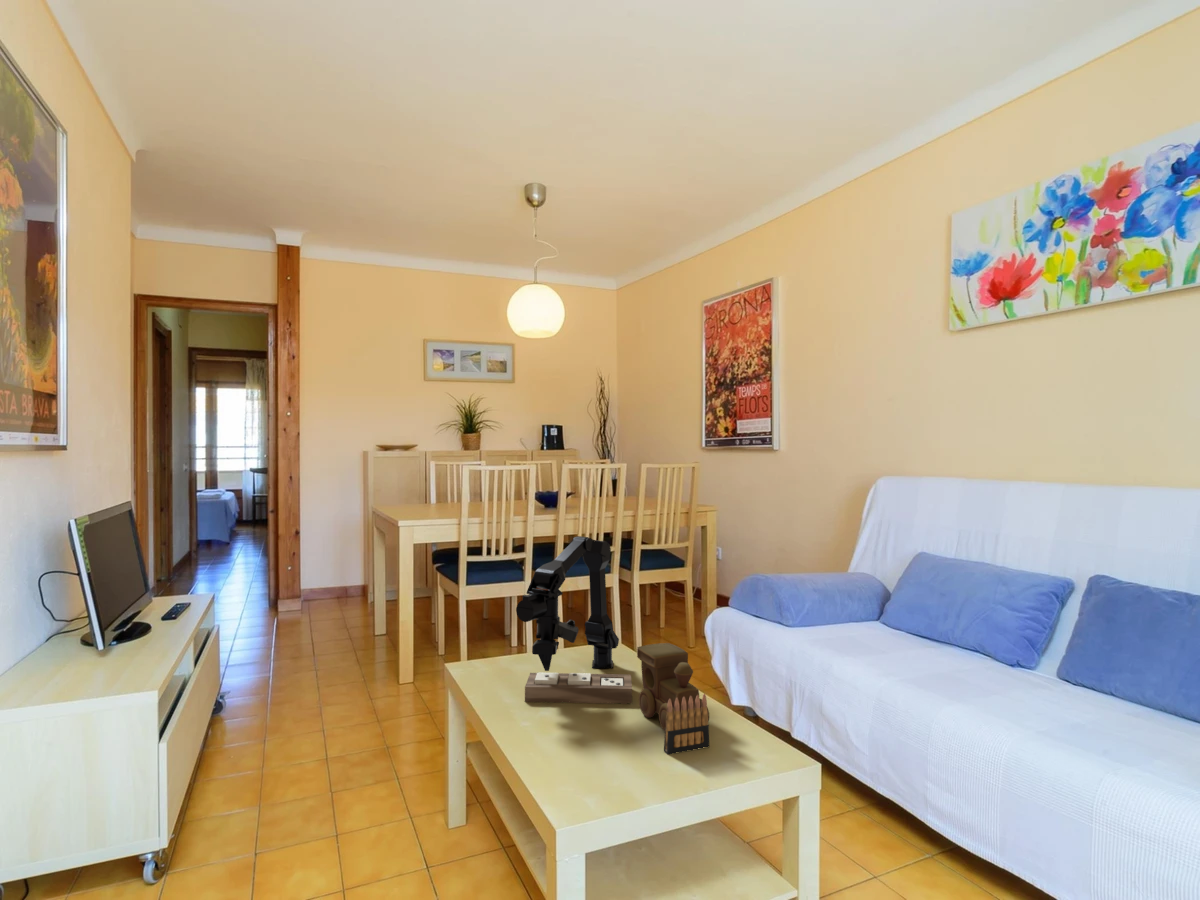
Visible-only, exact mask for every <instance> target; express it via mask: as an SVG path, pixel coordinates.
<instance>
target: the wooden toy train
mask: <svg viewBox="0 0 1200 900" xmlns="http://www.w3.org/2000/svg"><path fill="white" fill-rule="evenodd" d="M636 650H637V651H636V652H637V653H636V655H637V656H636V657H637V658H638V659H639V660H640V661H641V666H640V667H641V679H642V681H641V682H642V686H643V688H641V691H640V693H639V695H638V705H639V709H640V711H641V713H642V715H643V716H644V717H646V718H649V719H650V718H653V717H654V716H655V714H658V720H659V724H660V728H661V729H662V731H664V732H665V728H666V716H667V705H668V700H669V699H671V702H672V711H673V715H674V705H675V700H676V698H678V700H679V710H680V714H681V704H682V699H683V697H685V699H686V706H687V713H688V702H689V698H690V696H692V699H693V708H694V711H695V700H696V696H697V695H698V696H699V699H700V711H701V706H702V698H700V691H699V688H697V687H696V686H694V685H693V684H691V683H690V681H691V679H692V677H693V674H694V670H693V668H692V667H691V664H690V663H689V653H688V652H687V651H686V650H685V649H683V648H681V647H679V646H678V645H675V644H672V643H670V642H665V643H663V642H661V643H660V642H659V643H651V644H646V645H641V646H637V649H636ZM709 711H710V710H709V707H708V706H707V712H708V723H709V721H710V712H709Z"/></svg>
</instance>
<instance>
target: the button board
mask: <svg viewBox="0 0 1200 900" xmlns="http://www.w3.org/2000/svg"><path fill="white" fill-rule="evenodd" d="M558 673H559V681H558V684H535V678H536V675H537V672H529V675H528V677H527V681H526V683H525V686H524V702H525V701H526V702H525V703H561V702H567V704H568V703H569V704H573V703H574V704H576V703H577V704H614V703H621V704H622V705H628V704H627V703H632V704H633V685H632V674H625V673H624V674H623V673H622V674H621V673H618V674H617V673H613V674H612V673H591V685H568V677H569V673H570V672H568V673H563V672H562V673H561V672H558ZM601 678H623V686H615V685H601ZM621 704H620V705H621Z"/></svg>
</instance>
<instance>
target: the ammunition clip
mask: <svg viewBox="0 0 1200 900" xmlns="http://www.w3.org/2000/svg"><path fill="white" fill-rule="evenodd" d="M699 698H700V695H699V696H698V695H697V696H696V700H695V711H694V708H693V699H692V696H690V698H689V702H688V713H687V706H686V699H685V697H683V699H682V704H681V714H680V710H679V700H678V698H676V700H675V705H674V715H673V711H672V702H671V699H669V700H668V705H667V716H666V728H665V731H664V737H663V739H664V740H663V743H664V744H663V752H664V753H665V754H667V755H672V753H674V754H677V753H676V752H679V753H683V752H682V751H685V752H688V751H687V750H691V751H694V750H693V749H697V750H699V749H698V748H703V747H708V746H709V747H710V730H709V729H710V728H709V727H710V726H709V722H708V712H707V707H708V700H707V695H706V694H705V693H703V694H702V698H700V699H702V706H701V711H700V699H699ZM703 749H704V748H703Z"/></svg>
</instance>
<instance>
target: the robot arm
mask: <svg viewBox="0 0 1200 900" xmlns="http://www.w3.org/2000/svg"><path fill="white" fill-rule="evenodd" d="M610 545H611V544H609V542H608V541H605V540H597V539H596V540H595V539H593V538H591V537H588V536H582V535H581V536H580V535H579V536H578V535H577V536H574V537H573V538H572V541H571V542H570V543H569V544H568V546H566V547H565V548H564V549H563V550H562V551H561V553H560V554H558V555H557V556H556V558H554V559H553V560H552V561H549V562H547V563H543V564H542V565H540V567H538V568H537V569H536V570H535V572H534V573H533V574H534V575H533V576H532V578H531V581H530V583H529V586H528V588H527V590H526V594H524V595H522V597H521V599H522V600H520V601H519V602H518V603H517V605H516V608H515V611H516V615H517V617H518V619H519V620H520V621H521V622H523V623H528V622H532V621H534V620H535V624H536V625H537V626H536V634H535V639H537V640H536V641H534V642H533V645H532V647H531V650H532V651H531V652H532V653H531V654H532V655H537V656H538V657H539V659H540V663H541V664H542V667H543V670H544V672H545V671H546V672H550V667H551V663H552V659H553V655H556V654H557V651H558V649H559V645H560V642H559V641H556V640H559V638H560V639H562V640H565V641H568V642H569V643H573V644H574V643H575V641H576V639H577V636H578V633H579V627H578V626H576V620H574V619H568V621H564V622H563V621H561V617H560V616H559V597H561V596H562V595H563V594H564V593H563V592H562V591H561V590H560V589H561V586H562V585H563V584H564V582H565V580H566V574H567V573H568V571H569V570H571V568H572V567H574V565H575V564H576V563H577V562H578V561H579V559H580V558H581V557H582V559H583V562H584V563H585V565H586V567H587V569H588V576H589V598H590V600H589V602H590V616H589V617H588V620H587V621H585V623H584V628H585V631H584V635H585V638H586V643H587V645H588V646H593V660H592V664H591V668H592V669H613V668H614V660H613V650H614V649H617V648H618V646H619V644H620V643H619V642H620V641H619V640H620V639H619V637H618V636H617V634H616V633H615V631H614V625H613V621H612V620H611V617H610V616H609V615H608V612H607V611H608V610H607V586H606V585H607V581H606V568H607V566H608V564H609V562H610V561H611V560H610V559H611V552H612V550H611V549H612V548H611V546H610Z"/></svg>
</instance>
